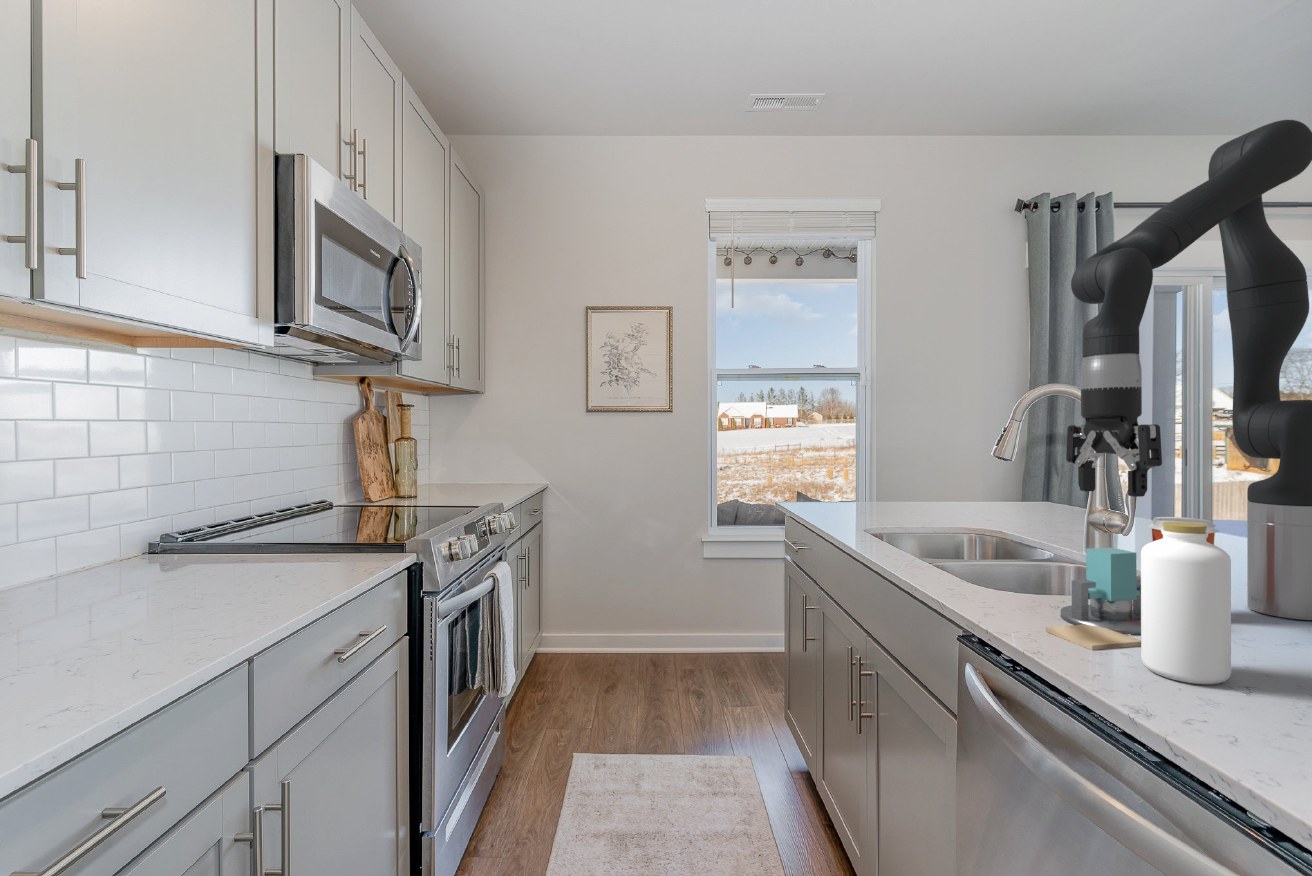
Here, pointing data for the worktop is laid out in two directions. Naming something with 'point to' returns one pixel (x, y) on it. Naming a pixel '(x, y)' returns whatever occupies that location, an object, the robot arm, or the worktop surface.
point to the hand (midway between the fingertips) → (1110, 493)
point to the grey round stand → (1103, 610)
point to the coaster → (1093, 636)
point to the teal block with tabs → (1112, 574)
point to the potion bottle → (1186, 606)
